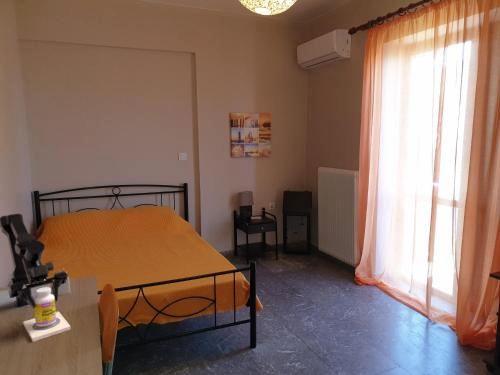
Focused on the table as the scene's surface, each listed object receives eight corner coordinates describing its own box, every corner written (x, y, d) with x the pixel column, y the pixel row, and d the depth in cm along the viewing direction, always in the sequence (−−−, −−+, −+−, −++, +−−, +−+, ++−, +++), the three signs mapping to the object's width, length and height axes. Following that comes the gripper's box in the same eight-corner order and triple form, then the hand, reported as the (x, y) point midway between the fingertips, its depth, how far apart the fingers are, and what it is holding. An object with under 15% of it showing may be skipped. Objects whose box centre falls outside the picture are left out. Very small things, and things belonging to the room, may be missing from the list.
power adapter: (56, 293, 164) (53, 267, 162) (69, 290, 167) (67, 265, 165) (57, 295, 161) (54, 269, 160) (70, 292, 164) (68, 267, 163)
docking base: (23, 324, 136) (23, 321, 136) (58, 314, 144) (58, 310, 143) (32, 341, 124) (32, 338, 124) (70, 329, 132) (70, 325, 132)
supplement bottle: (41, 329, 129) (38, 294, 128) (32, 324, 133) (29, 290, 131) (60, 321, 135) (57, 288, 133) (51, 317, 138) (48, 284, 137)
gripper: (7, 262, 127) (18, 302, 120) (64, 250, 140) (77, 286, 133) (4, 278, 133) (14, 317, 127) (58, 265, 146) (71, 299, 140)
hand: (45, 304), depth 132 cm, fingers open, 7 cm apart
